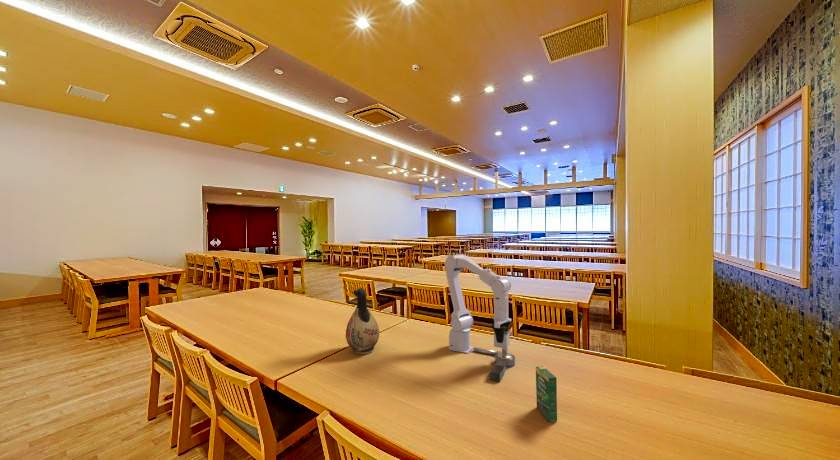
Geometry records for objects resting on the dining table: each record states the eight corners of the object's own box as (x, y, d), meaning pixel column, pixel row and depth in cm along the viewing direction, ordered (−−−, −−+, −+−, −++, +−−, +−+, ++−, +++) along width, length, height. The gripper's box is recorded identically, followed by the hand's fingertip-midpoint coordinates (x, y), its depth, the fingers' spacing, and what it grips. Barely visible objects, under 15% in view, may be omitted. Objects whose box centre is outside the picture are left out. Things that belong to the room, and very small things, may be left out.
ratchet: (484, 378, 116) (484, 361, 116) (497, 357, 134) (497, 343, 134) (505, 383, 112) (505, 366, 112) (516, 361, 130) (516, 346, 130)
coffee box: (535, 406, 98) (535, 365, 98) (543, 405, 98) (543, 365, 98) (548, 422, 90) (548, 378, 90) (557, 422, 90) (557, 377, 90)
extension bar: (472, 351, 141) (472, 347, 140) (473, 350, 142) (473, 346, 142) (500, 357, 135) (500, 353, 134) (501, 355, 136) (501, 351, 136)
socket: (493, 346, 127) (493, 333, 127) (497, 342, 131) (496, 329, 131) (506, 348, 124) (506, 335, 124) (509, 344, 129) (509, 331, 129)
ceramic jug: (342, 347, 147) (341, 285, 146) (374, 342, 153) (373, 282, 153) (350, 362, 131) (349, 292, 131) (385, 355, 138) (384, 288, 137)
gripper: (506, 313, 119) (507, 348, 120) (514, 304, 132) (515, 336, 132) (489, 311, 123) (489, 344, 123) (498, 302, 136) (498, 333, 136)
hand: (501, 340), depth 128 cm, fingers closed on socket, 5 cm apart
